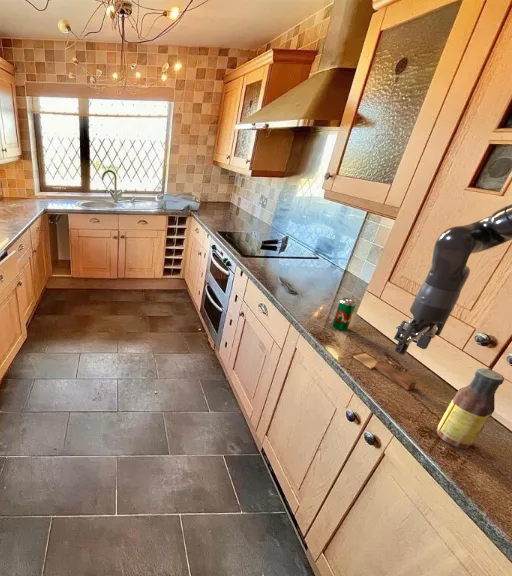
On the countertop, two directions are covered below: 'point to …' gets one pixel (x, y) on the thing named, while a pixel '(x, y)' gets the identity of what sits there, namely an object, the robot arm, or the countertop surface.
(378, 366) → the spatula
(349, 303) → the soda can
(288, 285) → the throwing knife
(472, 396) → the sauce bottle
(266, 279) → the countertop surface
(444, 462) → the countertop surface
